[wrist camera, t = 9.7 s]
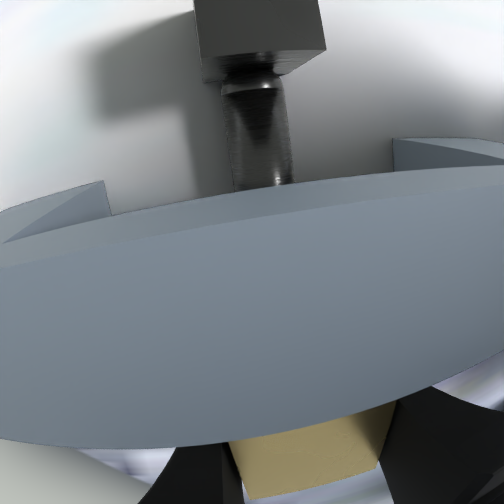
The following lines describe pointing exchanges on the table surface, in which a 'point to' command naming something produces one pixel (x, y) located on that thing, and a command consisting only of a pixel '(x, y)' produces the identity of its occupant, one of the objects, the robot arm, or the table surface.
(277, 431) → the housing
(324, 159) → the table surface
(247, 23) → the plug
